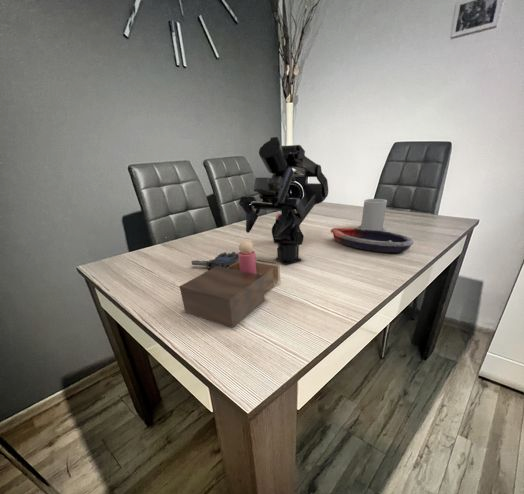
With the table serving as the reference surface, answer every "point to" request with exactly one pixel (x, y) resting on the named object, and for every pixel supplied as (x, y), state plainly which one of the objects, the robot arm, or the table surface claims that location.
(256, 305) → the cabinet
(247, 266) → the doll
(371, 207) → the cup
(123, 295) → the table surface
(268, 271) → the drawer
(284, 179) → the robot arm
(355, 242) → the dish
